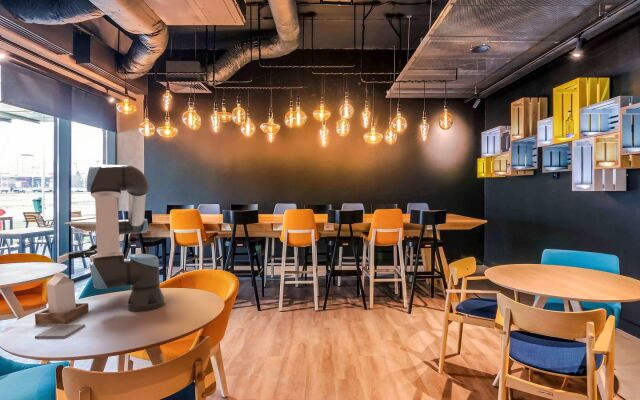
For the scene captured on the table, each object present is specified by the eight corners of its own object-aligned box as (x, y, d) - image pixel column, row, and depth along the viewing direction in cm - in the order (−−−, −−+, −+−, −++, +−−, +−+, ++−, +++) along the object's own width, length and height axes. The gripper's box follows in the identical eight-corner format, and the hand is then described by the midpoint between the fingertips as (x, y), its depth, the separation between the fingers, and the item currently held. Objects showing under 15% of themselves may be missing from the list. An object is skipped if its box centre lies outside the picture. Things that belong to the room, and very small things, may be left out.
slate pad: (85, 326, 144) (84, 324, 144) (65, 338, 133) (64, 335, 133) (57, 326, 144) (57, 324, 144) (34, 338, 133) (34, 336, 133)
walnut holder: (88, 312, 160) (88, 303, 160) (67, 323, 147) (67, 313, 147) (59, 312, 160) (58, 303, 160) (35, 324, 147) (34, 314, 147)
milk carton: (57, 322, 148) (53, 275, 147) (49, 319, 152) (45, 273, 151) (76, 316, 154) (73, 271, 153) (68, 313, 158) (65, 269, 157)
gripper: (126, 257, 185) (104, 267, 163) (74, 258, 183) (45, 269, 162) (125, 242, 184) (103, 250, 163) (73, 243, 182) (44, 252, 161)
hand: (74, 259), depth 162 cm, fingers open, 13 cm apart
